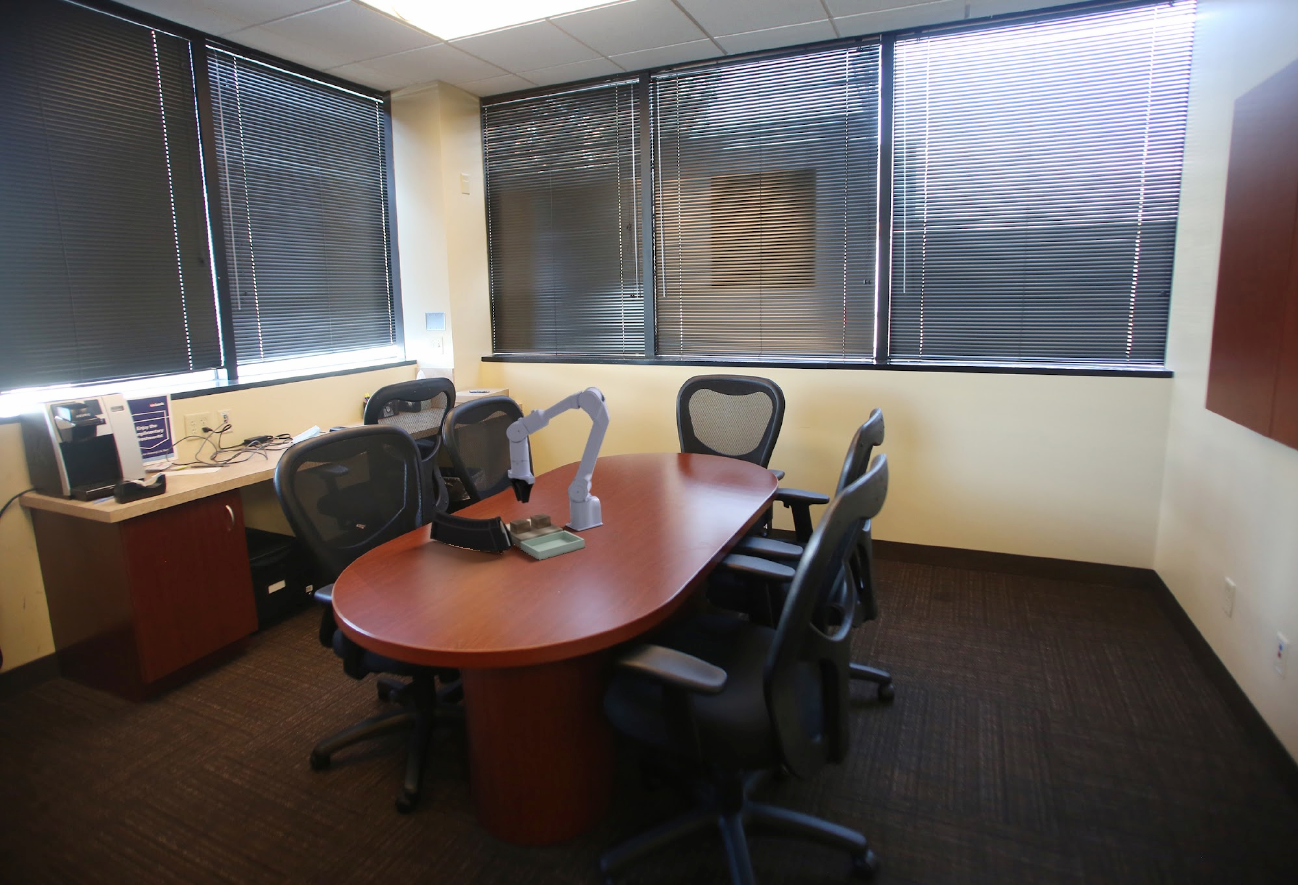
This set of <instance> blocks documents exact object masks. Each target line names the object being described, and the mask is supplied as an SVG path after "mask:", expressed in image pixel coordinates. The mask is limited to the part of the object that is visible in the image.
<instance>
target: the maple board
mask: <svg viewBox="0 0 1298 885" xmlns="http://www.w3.org/2000/svg"><path fill="white" fill-rule="evenodd" d="M526 520H528V521H530V528H531V531H530V532H526V533H522V534H518V535H517V534H515V533H513V532H511V531H510V523H505V525H506V526H507V528H508V530H509V531H510V533H511V536H512V539H513V543H514V544H515V545H516V546H518V547H519V548H518V547H517V548H518V549H520V548H521V546H520V542H522V541H526V540H530V539H534V538H538V537H541V536H545V535H549V534H553V533H557V532H561V531H564V530H563V528H562V527H559V526H557V525H556V524H553V523H551V526H549V527H545V528H541V529H536V528H534V527H532V526H531V519H530V518H528V519H526ZM515 545H514V546H515ZM516 546H515V547H516Z"/></svg>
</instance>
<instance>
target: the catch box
mask: <svg viewBox="0 0 1298 885" xmlns="http://www.w3.org/2000/svg"><path fill="white" fill-rule="evenodd" d="M520 546H521V549H520V551H521V550H523V551H524V553H525V552H526V553H525V554H527V553H528V554H527V555H529V554H530V555H532V556H533V557H532V556H531V557H532V558H534V557H535V558H534V559H536V560H538V559H539V560H538V561H542V560H541V559H543V560H546V559H549V558H548V557H550V558H553V557H555V556H559V555H564V554H567V553H570V552H574V551H579V550H581V549H584V548H586V541H585V539H584V538H582V537H580V536H578V535H576V534H574V533H573V532H570V531H568V530H563V531H561V532H557V533H553V534H549V535H545V536H541V537H538V538H534V539H530V540H526V541H522V542H520ZM523 551H522V552H523ZM563 553H564V554H563ZM530 555H529V556H530Z"/></svg>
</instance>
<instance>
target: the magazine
mask: <svg viewBox="0 0 1298 885" xmlns="http://www.w3.org/2000/svg"><path fill="white" fill-rule="evenodd" d="M429 539H430V540H434V541H436V542H439V543H442V544H444V543H445V545H447V544H451V545H454V546H459V547H463V548H470V549H473V550H480V551H479V552H484V551H490V552H489V553H498V554H500V553H502V552H503V553H504V552H506V551H509V550H512V548H513V547H514V546H515V545H514V543H513V539H512V536H511V533H510V531H509V530H508V528H507V526H506V523H505V522H504V521H503V520H502V517H501V516H500V515H497V516H495V517H491V518H470V517H464V516H463V517H462V516H459V515H454V514H451V513H448V512H446V511H443V510H441V509H440V508H436V509H435V510H434V514H433V515H432V518H431V526H430V534H429Z"/></svg>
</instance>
